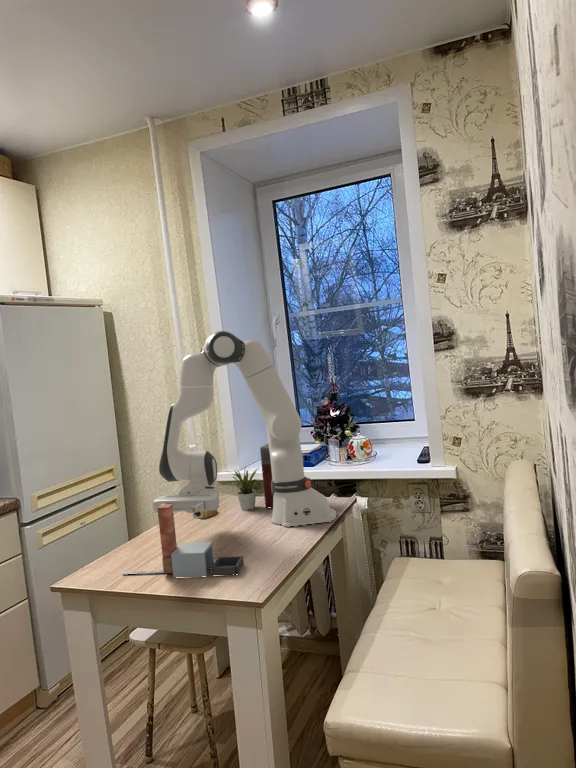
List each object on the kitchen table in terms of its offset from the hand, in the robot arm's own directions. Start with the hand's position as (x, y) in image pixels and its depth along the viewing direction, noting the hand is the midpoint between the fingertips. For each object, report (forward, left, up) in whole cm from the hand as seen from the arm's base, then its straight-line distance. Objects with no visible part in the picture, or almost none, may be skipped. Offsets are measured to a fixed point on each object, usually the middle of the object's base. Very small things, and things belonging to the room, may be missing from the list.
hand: (178, 510), depth 177 cm
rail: (+1, +12, -14) cm, 19 cm away
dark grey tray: (-16, +12, -14) cm, 25 cm away
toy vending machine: (-22, -52, -14) cm, 58 cm away
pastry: (+5, -43, -15) cm, 46 cm away
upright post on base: (-4, +12, -13) cm, 18 cm away
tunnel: (-7, +12, -14) cm, 20 cm away
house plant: (-8, -49, -14) cm, 51 cm away
